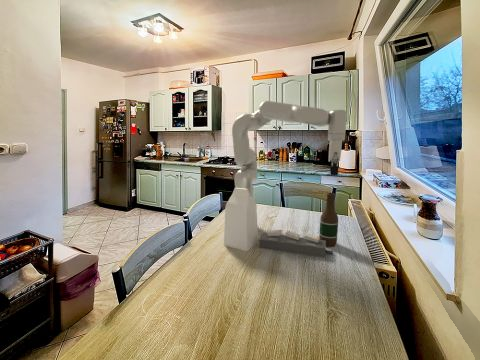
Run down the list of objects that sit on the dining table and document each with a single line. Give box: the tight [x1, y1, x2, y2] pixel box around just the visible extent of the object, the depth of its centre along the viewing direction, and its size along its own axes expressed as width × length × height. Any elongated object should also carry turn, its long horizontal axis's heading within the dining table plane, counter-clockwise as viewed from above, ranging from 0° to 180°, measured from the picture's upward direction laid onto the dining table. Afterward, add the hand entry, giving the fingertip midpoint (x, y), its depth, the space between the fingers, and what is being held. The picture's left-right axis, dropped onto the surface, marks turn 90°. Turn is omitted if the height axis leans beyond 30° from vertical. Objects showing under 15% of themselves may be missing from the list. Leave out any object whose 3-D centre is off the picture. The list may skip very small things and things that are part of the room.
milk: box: [223, 187, 259, 252], centre depth 115 cm, size 12×12×26 cm
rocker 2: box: [303, 232, 319, 243], centre depth 109 cm, size 6×3×2 cm, turn 72°
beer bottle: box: [318, 192, 339, 248], centre depth 114 cm, size 8×8×24 cm
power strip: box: [258, 232, 334, 258], centre depth 110 cm, size 31×8×4 cm, turn 71°
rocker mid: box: [284, 230, 301, 240], centre depth 112 cm, size 6×3×2 cm, turn 72°
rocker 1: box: [266, 229, 283, 236], centre depth 114 cm, size 6×3×2 cm, turn 70°
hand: (333, 173), depth 120 cm, fingers open, 9 cm apart
